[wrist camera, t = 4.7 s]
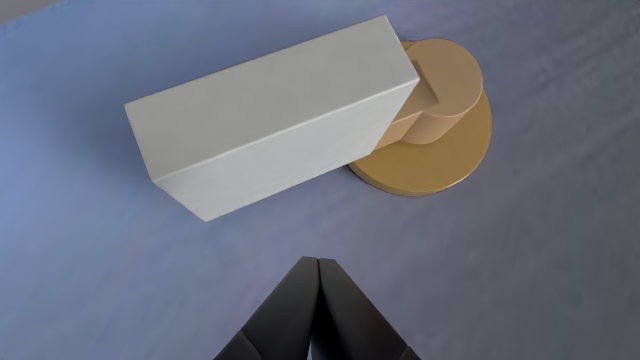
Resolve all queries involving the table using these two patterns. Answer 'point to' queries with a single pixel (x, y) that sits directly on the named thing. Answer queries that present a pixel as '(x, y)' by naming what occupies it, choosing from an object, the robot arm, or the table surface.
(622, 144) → the table surface
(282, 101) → the block on round stand
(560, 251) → the table surface
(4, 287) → the table surface
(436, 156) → the swivel base
